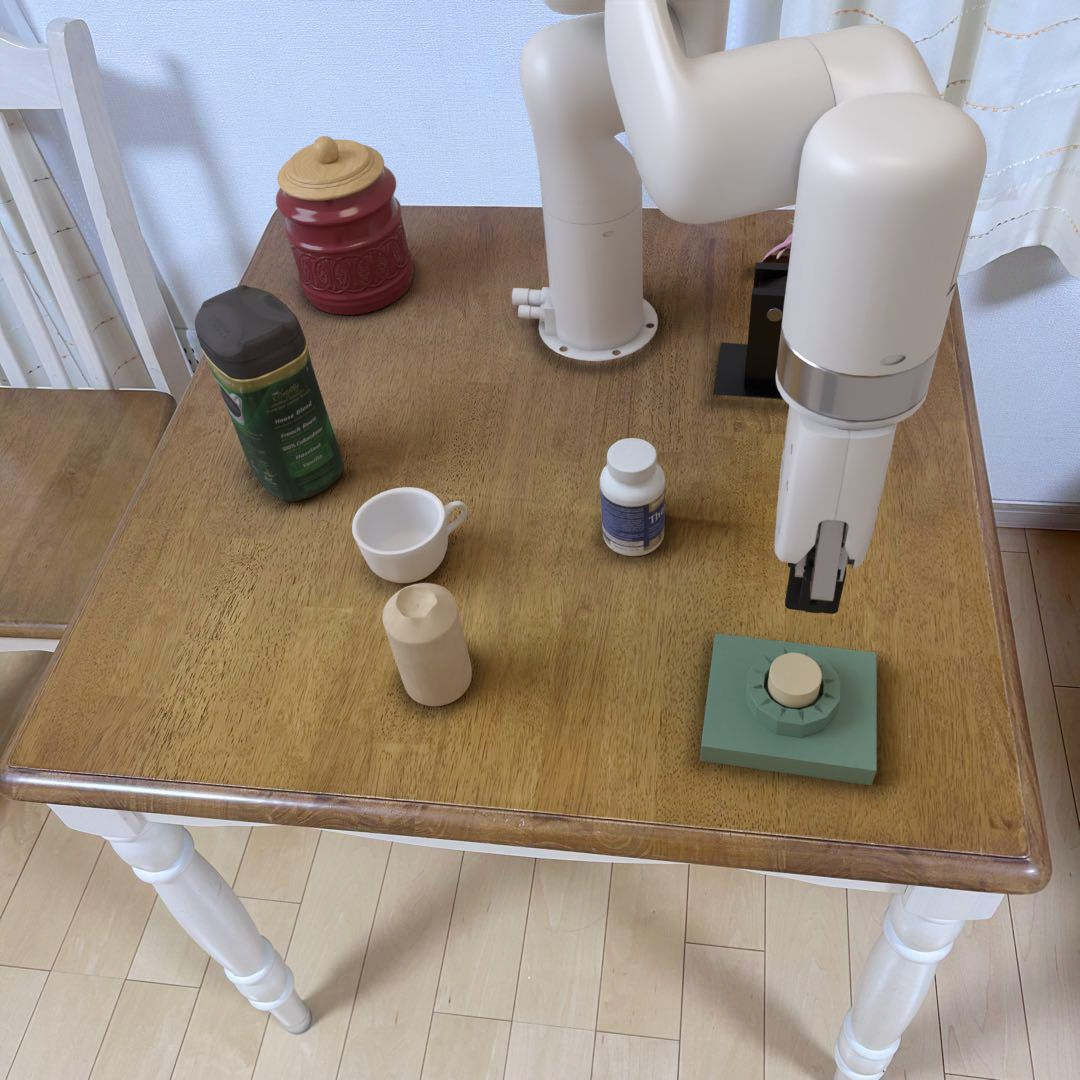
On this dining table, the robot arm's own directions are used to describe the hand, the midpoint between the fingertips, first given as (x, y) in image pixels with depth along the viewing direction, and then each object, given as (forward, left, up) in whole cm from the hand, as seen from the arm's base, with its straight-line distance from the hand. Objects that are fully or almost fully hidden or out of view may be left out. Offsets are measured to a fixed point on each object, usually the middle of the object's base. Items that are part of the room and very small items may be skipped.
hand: (812, 586), depth 65 cm
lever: (+1, +38, -5) cm, 38 cm away
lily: (-2, +58, -15) cm, 60 cm away
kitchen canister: (-51, +50, -15) cm, 73 cm away
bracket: (-4, +38, -15) cm, 41 cm away
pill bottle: (-14, +16, -15) cm, 26 cm away
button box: (0, 0, -15) cm, 15 cm away
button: (0, 0, -12) cm, 12 cm away
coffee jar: (-47, +20, -15) cm, 53 cm away
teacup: (-32, +11, -15) cm, 37 cm away
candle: (-27, -1, -15) cm, 31 cm away
